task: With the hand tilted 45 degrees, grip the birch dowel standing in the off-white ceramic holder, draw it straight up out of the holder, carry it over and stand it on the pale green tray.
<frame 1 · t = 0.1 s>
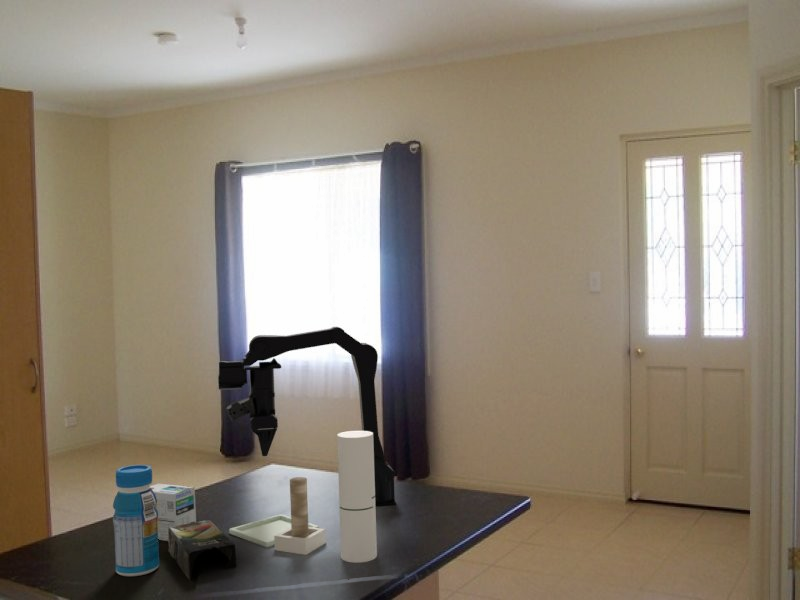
hand: (264, 452, 190), 15 cm above the kitchen counter, tool pointing down, fingers open, 9 cm apart
dowel: (300, 546, 164), point 1 cm above the kitchen counter, touching holder
holder: (300, 549, 164), on the kitchen counter
cylindrical container: (359, 559, 157), on the kitchen counter
juice carton: (201, 563, 159), on the kitchen counter
light bulb box: (168, 536, 175), on the kitchen counter
tray: (274, 534, 173), on the kitchen counter
beverage bottle: (137, 570, 155), on the kitchen counter
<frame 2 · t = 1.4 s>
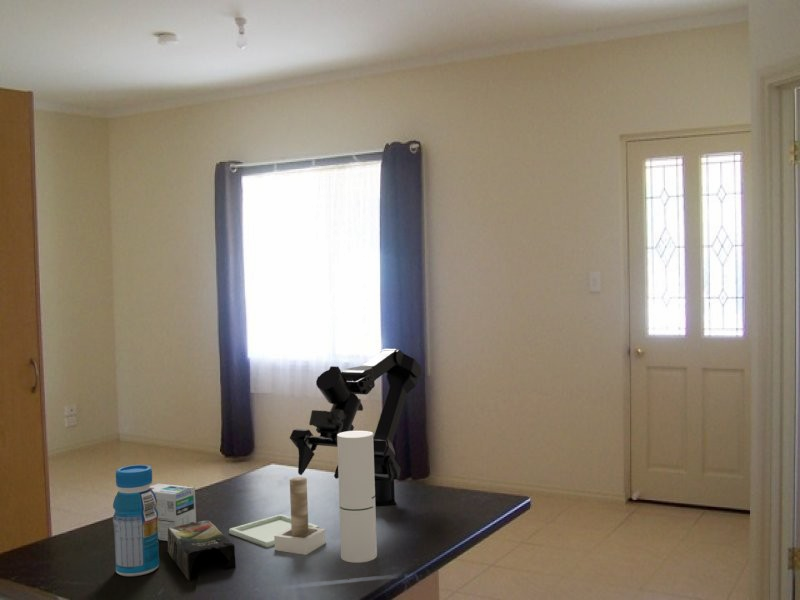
hand: (317, 475, 171), 13 cm above the kitchen counter, tool tilted 45°, fingers open, 9 cm apart
nothing on the kitchen counter moved.
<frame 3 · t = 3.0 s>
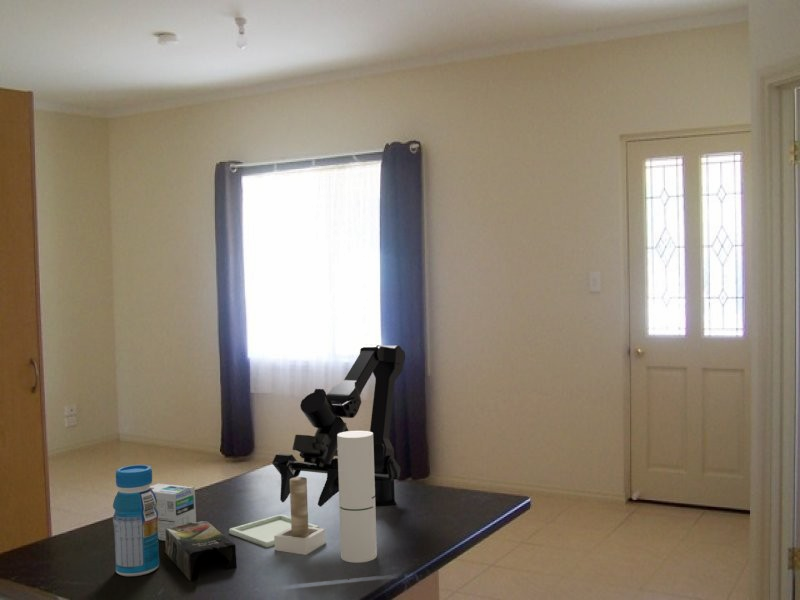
hand: (300, 503, 164), 9 cm above the kitchen counter, tool tilted 45°, fingers open, 9 cm apart
nothing on the kitchen counter moved.
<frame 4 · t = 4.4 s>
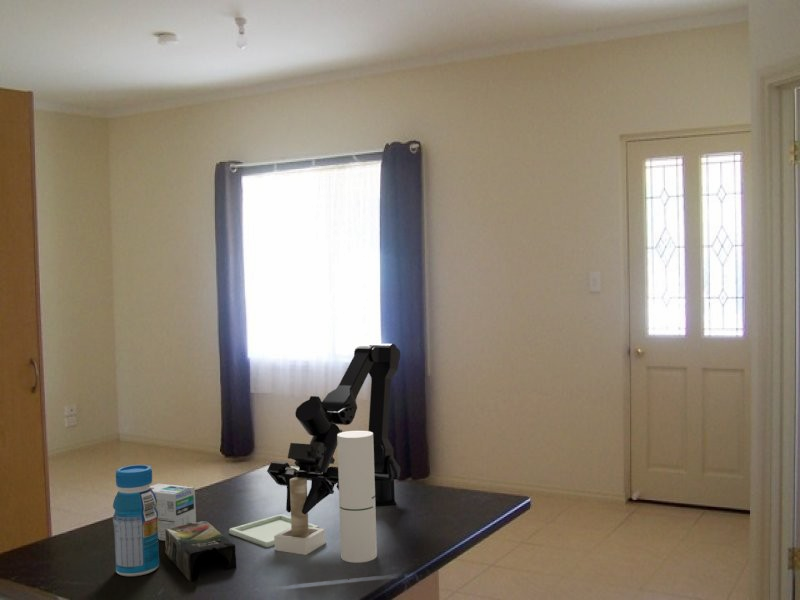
hand: (295, 512, 162), 8 cm above the kitchen counter, tool tilted 45°, fingers closed on dowel, 3 cm apart
dowel: (300, 546, 164), point 1 cm above the kitchen counter, touching gripper, holder
everything else where it was.
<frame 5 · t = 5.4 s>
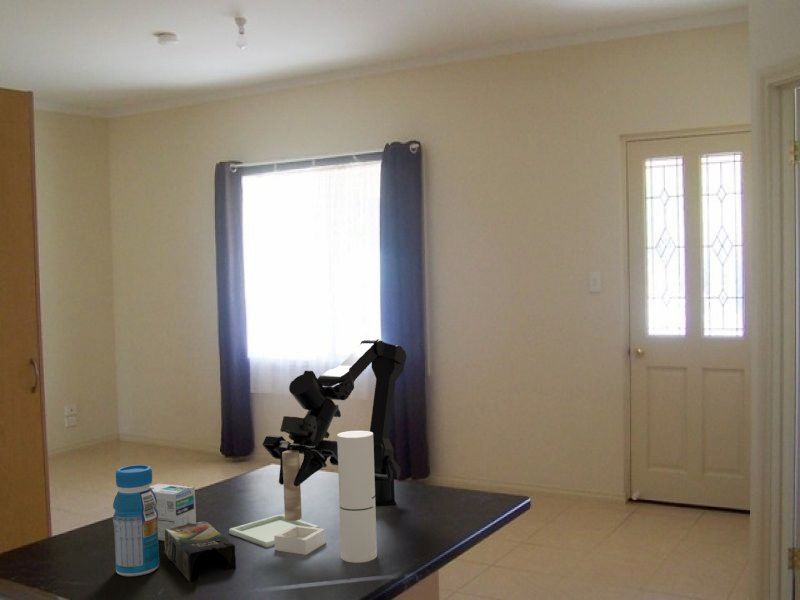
hand: (287, 484, 164), 13 cm above the kitchen counter, tool tilted 45°, fingers closed on dowel, 3 cm apart
dowel: (293, 518, 165), point 6 cm above the kitchen counter, touching gripper
everything else where it was.
when the fingers open (9 cm above the kitchen counter, at t = 7.2 s): dowel stays where it is, resting on tray.
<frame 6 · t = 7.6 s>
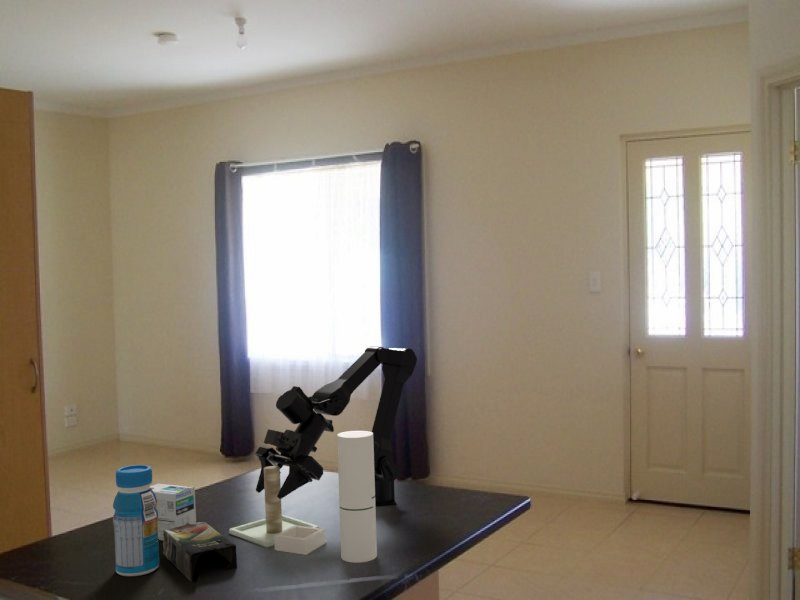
hand: (267, 494, 172), 9 cm above the kitchen counter, tool tilted 45°, fingers open, 8 cm apart
dowel: (274, 531, 173), point 1 cm above the kitchen counter, touching tray
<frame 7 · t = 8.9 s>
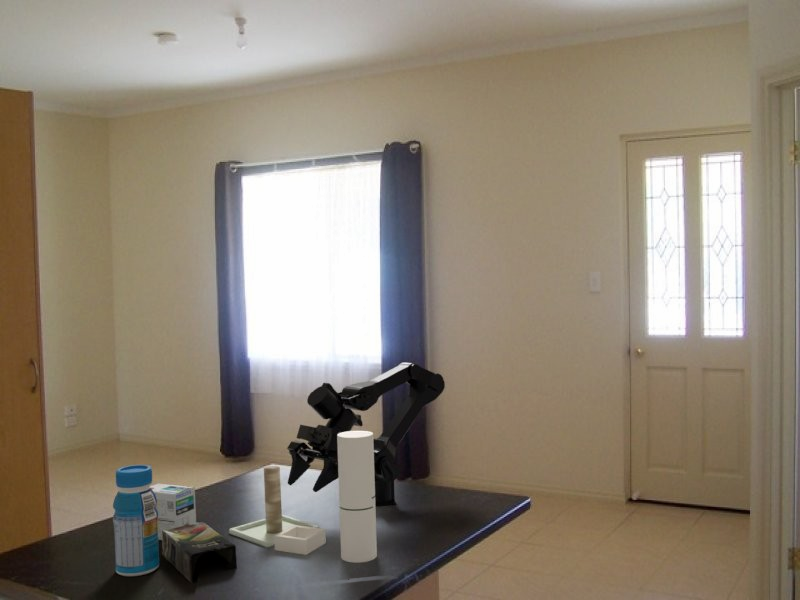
hand: (301, 487, 179), 9 cm above the kitchen counter, tool tilted 45°, fingers open, 9 cm apart
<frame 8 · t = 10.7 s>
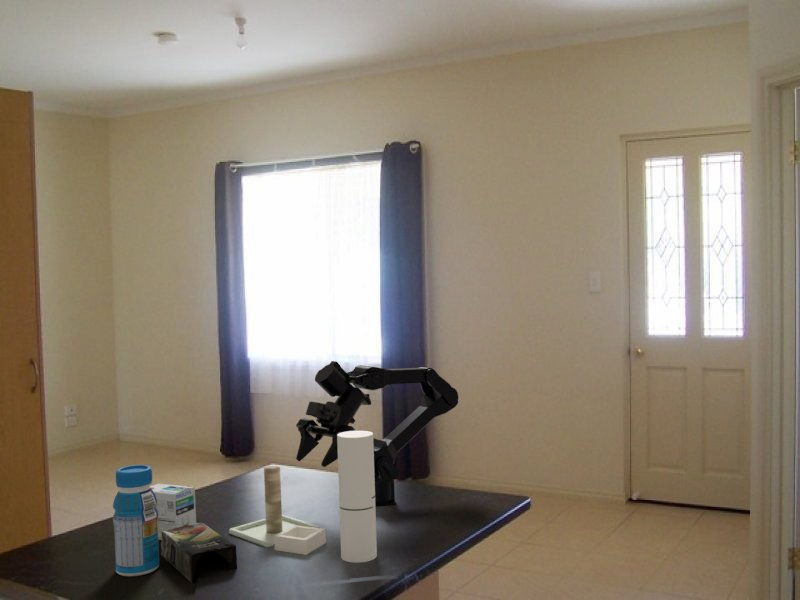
hand: (309, 463, 182), 14 cm above the kitchen counter, tool tilted 45°, fingers open, 9 cm apart
at the end: dowel inside the target area on the tray (0.0 cm from its centre), point 0.8 cm above the tray's base; dowel tilted 0°; the gripper is holding nothing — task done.
